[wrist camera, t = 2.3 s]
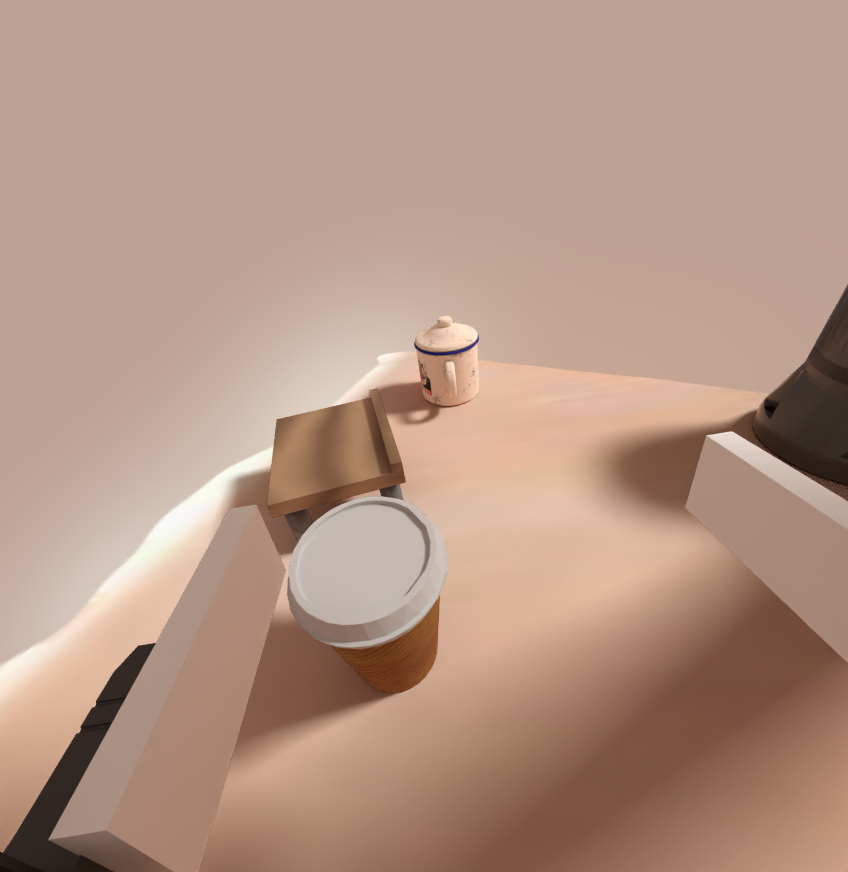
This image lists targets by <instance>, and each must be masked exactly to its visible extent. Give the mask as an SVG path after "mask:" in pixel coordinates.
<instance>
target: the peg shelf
mask: <svg viewBox="0 0 848 872" xmlns="http://www.w3.org/2000/svg"><path fill="white" fill-rule="evenodd" d="M369 392H370V396H371V398H367V399H363V400H359V401H354V402H350V403H346V404H341V405H337V406H333V407H329V408H324V409H320V410H316V411H312V412H307V413H303V414H298V415H294V416H290V417H286V418H282V419H277V422H276V431H275V439H274V448H273V456H272V465H271V474H270V482H269V491H268V499H267V507H268V509H269V511H270V513H271V515H272V517H277V516H281V515H285V517H286V519H287V521H288V523H289V525H290V527H291V529H292V531H293V533H294V534H295V536H296V538H297V540H298V542H299V540H300V538H301V537H302V535H303V534H304V533H305V532H306V531H307V529H308V528H309V527H310V526H311V525H312V524H313V521H312V519H311V516H310V514H309V512H308V510H307V508H311V507H314V506H318V505H322V504H326V503H329V502H333V501H337V500H341V499H345V498H348V497H352V496H356V495H360V494H363V493H367V492H371V491H375V490H378V489H380V493H381V496H382V497H389V498H396V499H400V500H403V497H402V492H401V488H400V484H401V483H405V482H406V481H405V476H404V471H403V466H402V461H401V458H400V455H399V452H398V449H397V446H396V443H395V440H394V437H393V434H392V431H391V428H390V425H389V422H388V419H387V416H386V413H385V410H384V407H383V403H382V400H381V397H380V394H379V391H378V388H377V389H373V390H369Z"/></svg>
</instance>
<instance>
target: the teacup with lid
mask: <svg viewBox="0 0 848 872" xmlns="http://www.w3.org/2000/svg"><path fill="white" fill-rule="evenodd" d="M478 340H479V336H478V334H477V332H476V331H475V329H474V328H472V327H470V326H468V325H464V324H458V323H455V322H452V319H451V317H449V316H442V317H439V318H438V320H437V324H435V325H433V326H432V327H429V328H427V329H425V330H423V331H421V332H420V333H419V334H418V335H417V336H416V338H415V343H414V346H415V348H416V349H417V355H418V362H419V369H420V376H421V384H422V391H423V395H424V397H425V399H426V400H428V401H429V402H431V403H433V404H436V405H441V406H453V405H459V404H463V403H465V402H468V401H469V400H471V399H473V398H474V397H475V396H476V395H477V393H478V390H479V378H478V351H477V343H478Z"/></svg>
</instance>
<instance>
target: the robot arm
mask: <svg viewBox="0 0 848 872" xmlns="http://www.w3.org/2000/svg"><path fill="white" fill-rule="evenodd" d="M752 425H753V430H754V432H755V434H756V436H757V437H758V439H759V440H760V441H761V442H762V443H763V444H764V445H765V446H766V447H767V448H768V449H770V450H771V451H772V452H774V453H775V454H777V455H778V456H780V457H781V458H783V459H784V460H786V461H788V462H790V463H792V464H794V465H796V466H798V467H800V468H802V469H804V470H806V471H809V472H811V473H814V474H816V475H819V476H821V477H824V478H827V479H830V480H834V481H837V482H840V483H844V484H848V285H847V287H846V289H845V290H844V292H843V294H842V296H841V298H840V300H839V301H838V303H837V305H836V307H835V309H834V310H833V312H832V314H831V316H830V317H829V319H828V321H827V323H826V325H825V326H824V328H823V330H822V332H821V334H820V335H819V337H818V339H817V341H816V343H815V345H814V347H813V349H812V350H811V352H810V354H809V356H808V358H807V359H806V361H805V362H804V363H803V364H802V365H801V366H800V367H799V368H798V369H797V370H796V371H795V372H794V373H792V374H791V375H790V376H789V377H788V378H787V379H786V380H785V381H784V382H783V383H782V384H780V385H779V386H778V387H777V388H776V389H775V390H774V391H773V392H772V393H771V394H769V395H768V396H767V397H766V398H765V399H764V400H763V402H762V403H761V405H760V407H759V409H758V411H757V413H756V415H755V417H754V419H753V423H752ZM685 508H686V509H687V510H688V511H689V512H690V513H691V514H692V515H693V516H694V517H695V518H696V519H697V520H698V521H699V522H700V523H702V524H703V525H704V526H705V527H706V528H707V529H708V530H709V531H710V532H711V533H712V534H713V535H714V536H715V537H716V538H717V539H718V540H719V541H720V542H721V543H722V544H724V545H725V546H726V547H727V548H728V549H729V550H730V551H731V552H732V553H733V554H734V555H735V556H736V557H737V558H738V559H739V560H740V561H741V562H742V563H743V564H744V565H746V566H747V567H748V568H749V569H750V570H751V571H752V572H753V573H754V574H755V575H756V576H757V577H758V578H759V579H760V580H761V581H762V582H763V583H764V584H765V585H766V586H768V587H769V588H770V589H771V590H772V591H773V592H774V593H775V594H776V595H777V596H778V597H779V598H780V599H781V600H782V601H783V602H784V603H785V604H786V605H787V606H788V607H790V608H791V609H792V610H793V611H794V612H795V613H796V614H797V615H798V616H799V617H800V618H801V619H802V620H803V621H804V622H805V623H806V624H807V625H808V626H809V627H810V628H811V629H813V630H814V631H815V632H816V633H817V634H818V635H819V636H820V637H821V638H822V639H823V640H824V641H825V642H826V643H827V644H828V645H829V646H830V647H831V648H832V649H833V650H835V651H836V652H837V653H838V654H839V655H840V656H841V657H842V658H843V659H844V660H845V661H846V662H847V663H848V501H846V500H845V499H843V498H841V497H840V496H838V495H837V494H835V493H833V492H832V491H830V490H828V489H827V488H825V487H823V486H822V485H820V484H818V483H817V482H815V481H813V480H812V479H810V478H808V477H807V476H805V475H803V474H802V473H800V472H798V471H797V470H795V469H794V468H792V467H790V466H789V465H787V464H785V463H784V462H782V461H780V460H779V459H777V458H775V457H774V456H772V455H770V454H769V453H767V452H765V451H764V450H762V449H760V448H759V447H757V446H755V445H754V444H752V443H750V442H749V441H747V440H746V439H744V438H742V437H741V436H739V435H737V434H736V433H734V432H732V431H731V432H725V433H718V434H712V435H706V438H705V441H704V445H703V448H702V452H701V455H700V459H699V462H698V465H697V469H696V472H695V476H694V479H693V482H692V486H691V489H690V493H689V496H688V499H687V503H686V506H685ZM285 571H286V569H285V567H284V565H283V563H282V560H281V558H280V556H279V554H278V551H277V549H276V547H275V545H274V543H273V540H272V538H271V536H270V534H269V532H268V529H267V527H266V525H265V523H264V520H263V518H262V516H261V514H260V512H259V509H258V507H257V505H249V506H243V507H236V508H230V509H229V510H228V512H227V514H226V516H225V518H224V520H223V521H222V523H221V525H220V527H219V529H218V530H217V532H216V534H215V536H214V538H213V540H212V541H211V543H210V545H209V547H208V549H207V551H206V552H205V554H204V556H203V558H202V560H201V562H200V563H199V565H198V567H197V569H196V571H195V573H194V574H193V576H192V578H191V580H190V582H189V584H188V585H187V587H186V589H185V591H184V593H183V594H182V596H181V598H180V600H179V602H178V604H177V605H176V607H175V609H174V611H173V613H172V615H171V616H170V618H169V620H168V622H167V624H166V626H165V627H164V629H163V631H162V633H161V635H160V637H159V638H158V640H157V642H156V643H153V644H146V645H140V646H138V647H137V648H136V649H135V650H134V651H133V652H132V653H131V654H130V655H129V656H128V657H127V658H126V659H125V661H124V662H123V663H122V664H121V665H120V666H119V667H118V668H117V669H116V670H115V671H114V672H113V674H112V676H111V677H110V679H109V681H108V682H107V684H106V686H105V687H104V689H103V691H102V692H101V694H100V696H99V697H98V699H97V701H96V706H95V707H93V708H92V709H91V710H90V712H89V714H88V715H87V717H86V719H85V720H84V722H83V724H82V725H81V731H80V732H79V733H78V734H76V735H75V737H74V739H73V740H72V742H71V744H70V745H69V747H68V748H67V750H66V752H65V753H64V755H63V757H62V758H61V760H60V762H59V763H58V765H57V767H56V768H55V770H54V772H53V773H52V775H51V777H50V778H49V780H48V782H47V783H46V785H45V786H44V788H43V790H42V791H41V793H40V795H39V796H38V798H37V800H36V801H35V803H34V805H33V806H32V808H31V810H30V811H29V813H28V815H27V816H26V818H25V819H24V821H23V823H22V824H21V826H20V828H19V829H18V831H17V833H16V834H15V836H14V838H13V839H12V841H11V842H10V844H9V845H8V846H7V848H6V849H5V851H4V852H3V853H1V852H0V872H199V870H200V866H201V863H202V860H203V856H204V853H205V849H206V846H207V842H208V839H209V835H210V832H211V828H212V825H213V821H214V818H215V814H216V811H217V807H218V804H219V801H220V797H221V794H222V790H223V787H224V783H225V780H226V776H227V773H228V769H229V766H230V762H231V759H232V755H233V752H234V748H235V745H236V742H237V738H238V735H239V731H240V728H241V724H242V721H243V717H244V714H245V710H246V707H247V703H248V700H249V696H250V693H251V689H252V686H253V683H254V679H255V676H256V672H257V669H258V665H259V662H260V658H261V655H262V651H263V648H264V644H265V641H266V637H267V634H268V630H269V627H270V624H271V620H272V617H273V613H274V610H275V606H276V603H277V599H278V596H279V592H280V589H281V585H282V582H283V578H284V575H285Z"/></svg>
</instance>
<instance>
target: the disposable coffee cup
mask: <svg viewBox="0 0 848 872" xmlns="http://www.w3.org/2000/svg"><path fill="white" fill-rule="evenodd" d="M446 572H447V552H446V546H445V543H444V541H443V538H442V536H441V534H440V532H439V531H438V529H437V528H436V526H435V525H434V524H433V523H432V522H431V521H430V520H429V519H428V518H427V517H426V516H425V514H424V513H423V512H421V511H420V510H419V509H418V508H417V507H415V506H413V505H412V504H410V503H408V502H405V501H403V500H400V499H396V498H389V497H382V496H375V497H365V498H359V499H355V500H352V501H350V502H347V503H344V504H341V505H339V506H337V507H335V508H333V509H331V510H330V511H328V512H327V513H325V514H324V515H322V516H321V517H320V518H319V519H317V520H316V521H315V522H314V523H313V524H312V525H311V526H310V527H309V528H308V529H307V531H306V532H305V533H304V534H303V535H302V537H301V538H300V540H299V542H298V544H297V545H296V547H295V549H294V551H293V554H292V558H291V562H290V566H289V577H288V590H287V596H288V600H289V605H290V610H291V612H292V613H293V615H294V617H295V619H296V620H297V622H298V624H299V625H300V626H301V627H302V628H303V629H304V630H305V631H306V632H307V633H308V634H309V635H311V636H312V637H313V638H315V639H316V640H317V641H320V642H323V643H326V644H329V645H331V646H332V647H333V648H334V649H335V650H336V651H337V652H338V653H339V654H340V655H341V656H342V657H343V658H344V659H345V661H346V662H347V663H348V664H349V665H350V666H352V667H353V669H355V670H356V672H358V673H359V675H361V676H362V678H364V679H365V681H366V682H367V683H368V684H369V685H371V686H372V687H374V688H375V689H377V690H381V691H384V692H390V693H395V692H402V691H405V690H408V689H410V688H412V687H414V686H415V685H417V684H418V683H419V682H420V681H422V680H423V679H424V678H425V677H426V675H427V674H428V672H429V671H430V669H431V668H432V666H433V664H434V661H435V658H436V654H437V645H438V644H437V643H438V622H439V602H440V592H441V590H442V587H443V585H444V583H445V578H446Z"/></svg>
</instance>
